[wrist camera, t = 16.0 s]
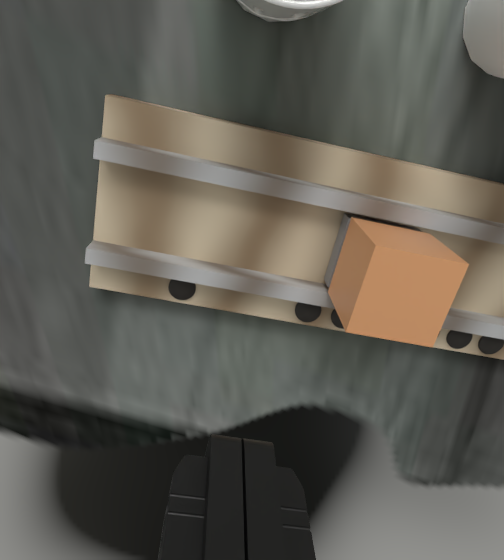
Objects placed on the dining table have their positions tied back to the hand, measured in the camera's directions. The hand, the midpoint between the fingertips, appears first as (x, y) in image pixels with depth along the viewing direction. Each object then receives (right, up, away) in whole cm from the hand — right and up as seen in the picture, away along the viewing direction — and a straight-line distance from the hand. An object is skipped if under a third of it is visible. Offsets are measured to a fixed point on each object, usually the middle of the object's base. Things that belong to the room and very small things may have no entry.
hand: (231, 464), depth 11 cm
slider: (+8, +6, +19) cm, 21 cm away
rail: (+7, +7, +20) cm, 22 cm away
